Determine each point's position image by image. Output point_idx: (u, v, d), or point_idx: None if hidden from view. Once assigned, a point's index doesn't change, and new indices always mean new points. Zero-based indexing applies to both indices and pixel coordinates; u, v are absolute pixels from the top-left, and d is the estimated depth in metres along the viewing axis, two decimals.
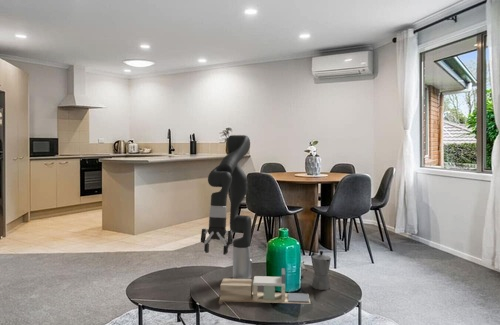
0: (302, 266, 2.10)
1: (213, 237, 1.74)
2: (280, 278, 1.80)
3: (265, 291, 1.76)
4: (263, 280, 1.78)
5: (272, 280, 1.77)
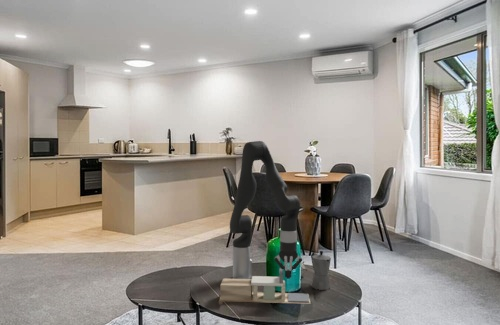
0: (302, 266, 2.10)
1: (288, 259, 1.77)
2: (278, 278, 1.80)
3: (265, 291, 1.76)
4: (261, 279, 1.78)
5: (270, 280, 1.77)
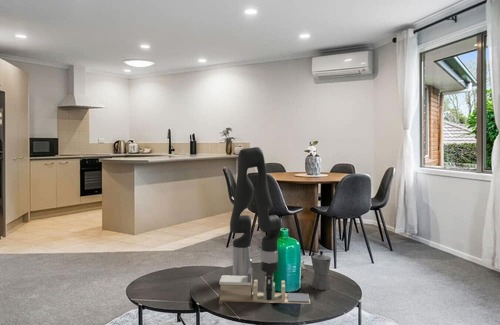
0: (302, 266, 2.10)
1: None
2: (247, 277, 1.81)
3: (265, 291, 1.76)
4: (230, 279, 1.79)
5: (239, 279, 1.78)
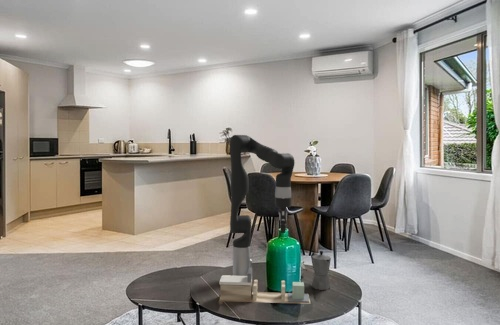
0: (302, 266, 2.10)
1: None
2: (247, 277, 1.81)
3: (294, 291, 1.75)
4: (230, 279, 1.79)
5: (239, 279, 1.78)
